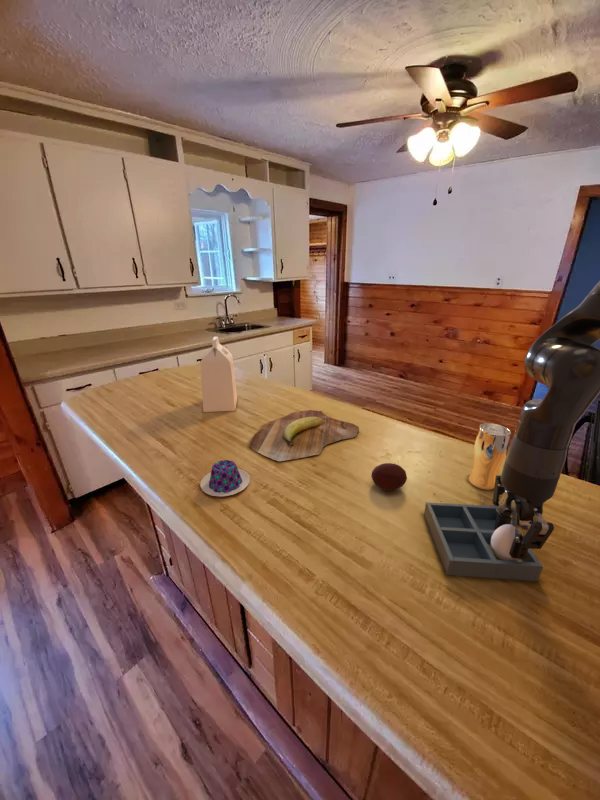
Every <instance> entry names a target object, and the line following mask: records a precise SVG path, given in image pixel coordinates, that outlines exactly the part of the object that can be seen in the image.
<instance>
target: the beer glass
mask: <svg viewBox="0 0 600 800" xmlns="http://www.w3.org/2000/svg"><path fill="white" fill-rule="evenodd" d="M511 435H512V430H510V428H508V427H505V426H503V425H500V424H499V423H498V424H496V423H492V422H490V423H489V422H485V423H481V424H480V425H479V427H478V430H477V433H476V436H475V440H474V445H473V466H472V470H471V473H470V474H469V476H468V482H469V483H470V484H471V485H473V486H474V487H475V488H478V489H481V490H485V491H487V490H494V486H495V479H496V476H497V475H498V472H499V470H500V467H502V464H503V463H504V461H505V459H506V456H507V452H508V449H509V445H510V442H511Z"/></svg>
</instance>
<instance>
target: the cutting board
mask: <svg viewBox="0 0 600 800" xmlns="http://www.w3.org/2000/svg"><path fill="white" fill-rule="evenodd" d="M359 431H360V427H359V426H358V425H357V424H354V423H352V422H348V421H343V420H341V419H340V420H339V419H336V418H334V417H331V416H328V415H326V414H324V413H323V411H322V410H313V409H309V410H301V411H294V412H290V413H289V414H287V415H285V416H283V417H279V418H277V419H274V420H271V421H268V422H266V423H264V424H262V425H261V427H260V428H259V430H258V431H257V432H256V433H254V435H253V436H252V437H251V438H252V439H251V441H250V442H249V447H250V449H251V450H253V451H254V452H256V453H259V454H260V455H262V456H263V457H266V458H268V459H271V460H273V461H277V462H285V461H291V460H292V461H293V460H297V459H302V458H308V457H313V456H320V454H321V453H322V451H323V449H324V447H326V446H327V445H330V444H334V443H336V442H338V441H341V440H346V439H347V440H348V439H353V438H356V437H357V435H358V432H359Z"/></svg>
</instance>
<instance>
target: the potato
mask: <svg viewBox="0 0 600 800" xmlns="http://www.w3.org/2000/svg"><path fill="white" fill-rule="evenodd" d="M371 480H372V482H373V484H375V485H376V486H377V487H378V488H379V489H381V490H384V491H388V492H389V491H390V492H391V491H396V490H398V489H400V488H402V487H403V486H404V485H405V484H406V483H407V480H408V477H407V472H406V469H404V468H403V467H402V466H401V465H399V464H396V463H391V462H385V463H384V462H383V463H381V464H379V465H377V466H376V467H374V469H372V470H371Z"/></svg>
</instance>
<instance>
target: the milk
mask: <svg viewBox="0 0 600 800" xmlns="http://www.w3.org/2000/svg"><path fill="white" fill-rule="evenodd" d="M211 345H212V346H211V347H210V349H208V351H206V353H205V354H204V355H203V356H202V358H201V360H200V377H201V378H200V379H201V395H202V396H201V397H202V411H203V413H211V412H214V413H215V412H216V413H217V412H235V411H236V407H237V402H238V394H237V393H238V392H237V385H236V375H235V374H236V373H235V366H234V364H235V363H234V357H233V356H234V355H233V354H232V353H231V352H230V351H229V349H227V347H225V346H223V345H222V344H221V343H220V340H219V336H213V338H212V340H211Z"/></svg>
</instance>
